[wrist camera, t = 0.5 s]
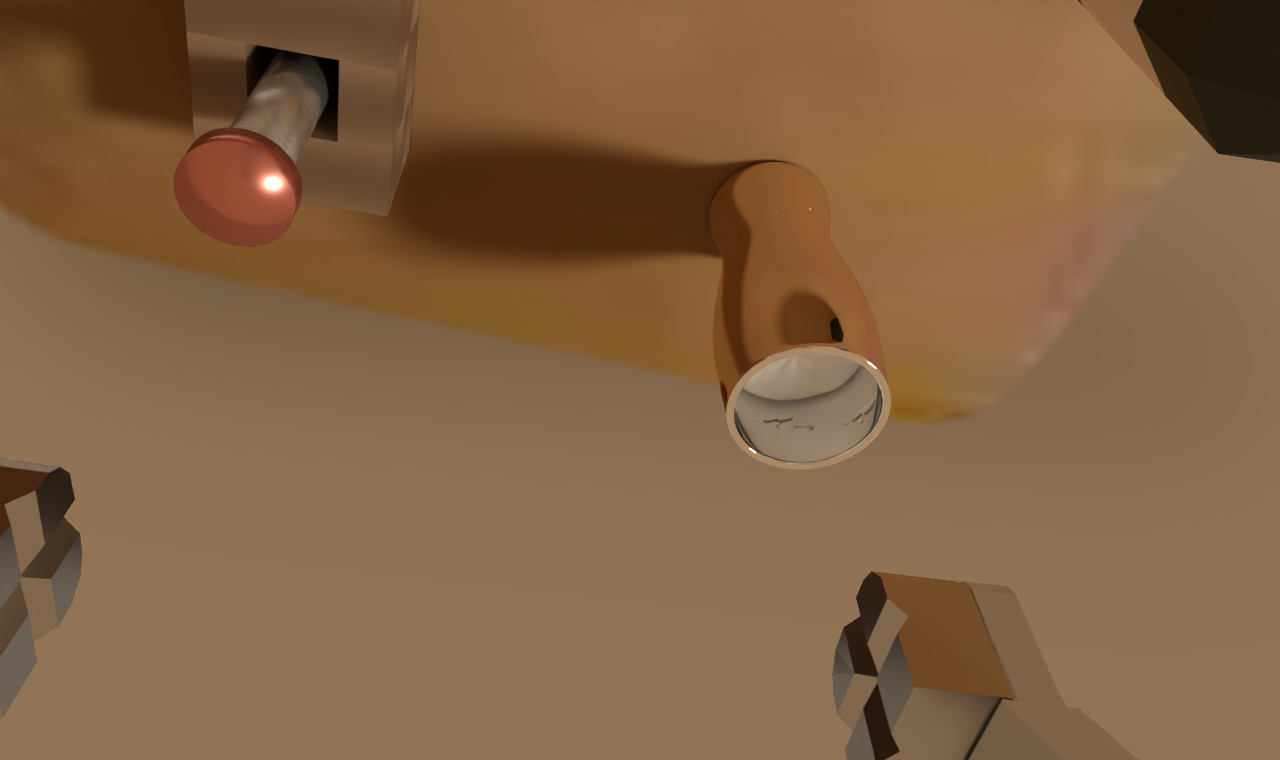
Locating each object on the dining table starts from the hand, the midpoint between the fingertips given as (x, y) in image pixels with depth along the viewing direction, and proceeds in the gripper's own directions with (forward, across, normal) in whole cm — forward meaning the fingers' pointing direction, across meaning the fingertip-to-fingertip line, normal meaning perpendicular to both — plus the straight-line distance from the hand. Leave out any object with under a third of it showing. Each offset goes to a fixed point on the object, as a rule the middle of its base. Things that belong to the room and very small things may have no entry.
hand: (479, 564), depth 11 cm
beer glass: (+41, -11, +13) cm, 44 cm away
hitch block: (+40, +11, +7) cm, 42 cm away
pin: (+40, +11, +7) cm, 42 cm away
